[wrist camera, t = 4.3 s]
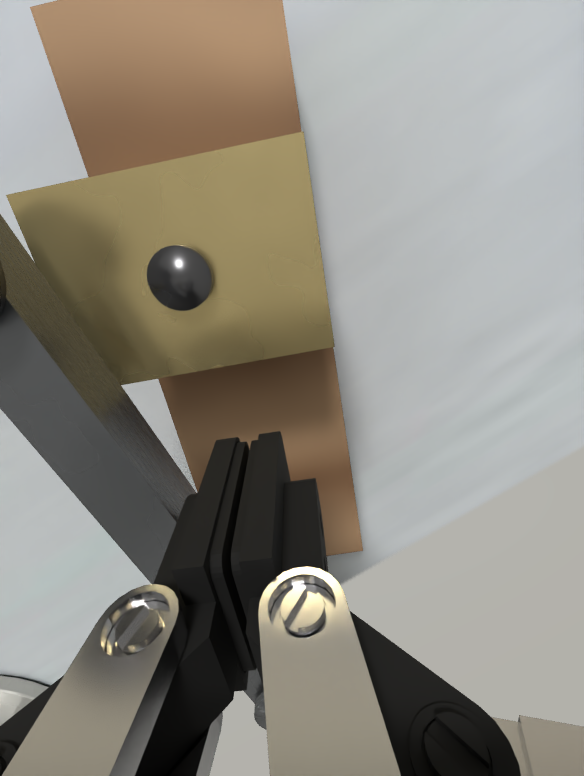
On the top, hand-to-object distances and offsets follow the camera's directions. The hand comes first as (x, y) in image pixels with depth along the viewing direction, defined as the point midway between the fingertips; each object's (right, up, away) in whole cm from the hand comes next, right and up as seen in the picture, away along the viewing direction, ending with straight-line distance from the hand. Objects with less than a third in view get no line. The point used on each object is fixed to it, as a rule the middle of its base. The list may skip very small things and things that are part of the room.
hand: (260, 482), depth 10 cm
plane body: (-1, +5, +8) cm, 10 cm away
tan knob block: (-2, +7, +3) cm, 8 cm away
